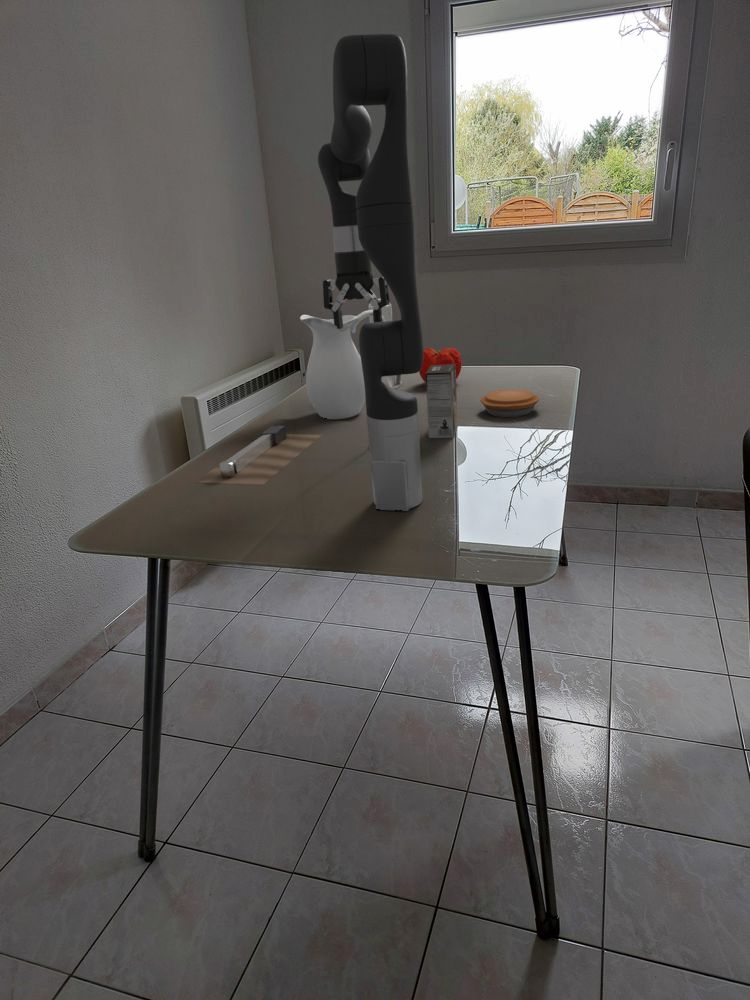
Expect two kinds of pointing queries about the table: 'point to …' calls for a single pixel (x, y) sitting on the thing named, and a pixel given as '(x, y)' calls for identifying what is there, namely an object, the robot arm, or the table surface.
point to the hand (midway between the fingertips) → (358, 327)
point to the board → (264, 462)
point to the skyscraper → (388, 317)
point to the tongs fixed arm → (227, 466)
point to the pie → (509, 402)
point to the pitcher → (335, 367)
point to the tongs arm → (259, 448)
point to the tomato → (440, 360)
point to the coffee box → (441, 401)
